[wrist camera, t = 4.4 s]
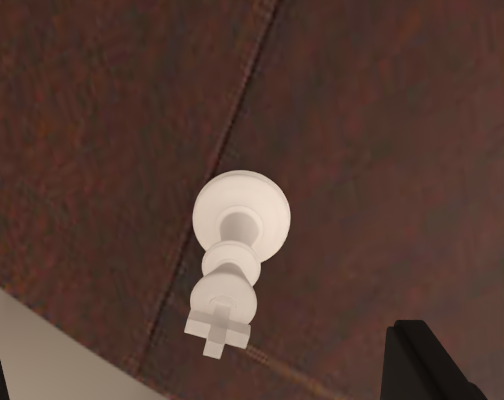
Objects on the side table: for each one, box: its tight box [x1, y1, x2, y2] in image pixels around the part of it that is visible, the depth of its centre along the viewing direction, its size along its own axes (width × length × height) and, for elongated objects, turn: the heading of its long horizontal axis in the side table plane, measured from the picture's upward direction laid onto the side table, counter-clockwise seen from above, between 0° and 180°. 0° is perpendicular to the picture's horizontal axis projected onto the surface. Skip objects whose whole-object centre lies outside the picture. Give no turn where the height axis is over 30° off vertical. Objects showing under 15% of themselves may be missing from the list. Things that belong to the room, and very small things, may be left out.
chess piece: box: [184, 170, 290, 359], centre depth 14 cm, size 5×5×10 cm
